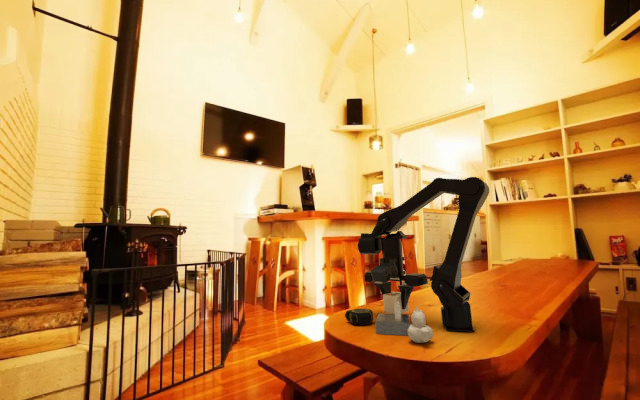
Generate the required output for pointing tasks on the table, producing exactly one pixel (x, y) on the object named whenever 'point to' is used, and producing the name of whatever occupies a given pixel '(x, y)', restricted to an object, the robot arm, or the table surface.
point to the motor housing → (393, 322)
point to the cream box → (390, 300)
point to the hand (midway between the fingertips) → (396, 307)
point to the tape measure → (359, 316)
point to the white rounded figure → (419, 328)
